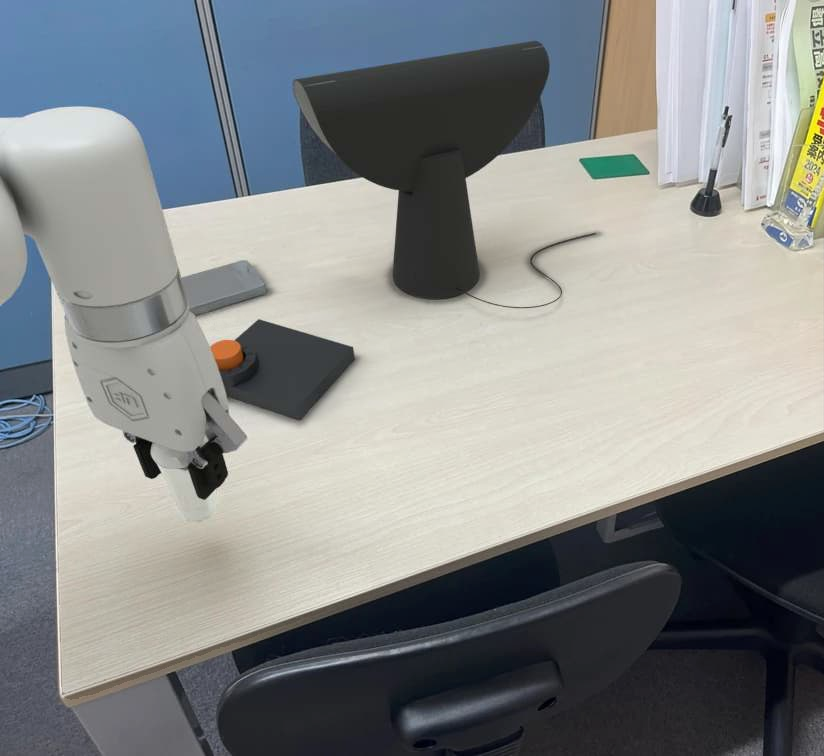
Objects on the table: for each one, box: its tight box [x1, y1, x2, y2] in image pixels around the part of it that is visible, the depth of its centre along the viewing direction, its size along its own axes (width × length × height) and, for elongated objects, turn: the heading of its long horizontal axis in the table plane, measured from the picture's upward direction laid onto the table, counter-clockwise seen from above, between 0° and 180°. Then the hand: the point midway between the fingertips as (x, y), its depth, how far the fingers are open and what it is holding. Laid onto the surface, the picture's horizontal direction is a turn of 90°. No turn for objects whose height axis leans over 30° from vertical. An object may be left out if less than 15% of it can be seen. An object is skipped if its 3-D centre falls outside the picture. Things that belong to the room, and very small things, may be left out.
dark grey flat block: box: [219, 318, 356, 421], centre depth 85 cm, size 14×13×4 cm
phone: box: [181, 259, 268, 317], centre depth 97 cm, size 8×16×1 cm, turn 125°
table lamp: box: [292, 40, 596, 309], centre depth 95 cm, size 40×28×30 cm
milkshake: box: [151, 435, 219, 523], centre depth 60 cm, size 5×5×10 cm
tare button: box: [209, 339, 244, 370], centre depth 82 cm, size 4×4×2 cm
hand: (187, 475), depth 60 cm, fingers closed on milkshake, 4 cm apart
